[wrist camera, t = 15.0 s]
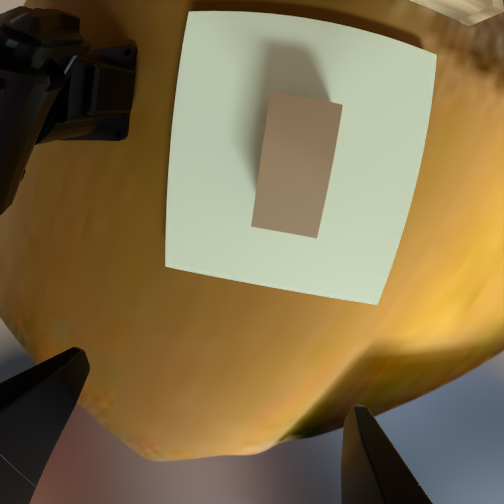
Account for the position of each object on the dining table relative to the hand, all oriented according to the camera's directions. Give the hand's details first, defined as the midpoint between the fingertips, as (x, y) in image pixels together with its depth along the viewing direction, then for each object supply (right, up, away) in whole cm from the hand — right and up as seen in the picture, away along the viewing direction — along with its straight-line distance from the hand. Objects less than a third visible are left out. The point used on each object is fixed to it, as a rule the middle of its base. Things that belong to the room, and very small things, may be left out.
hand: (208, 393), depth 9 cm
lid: (+4, +10, +9) cm, 14 cm away
